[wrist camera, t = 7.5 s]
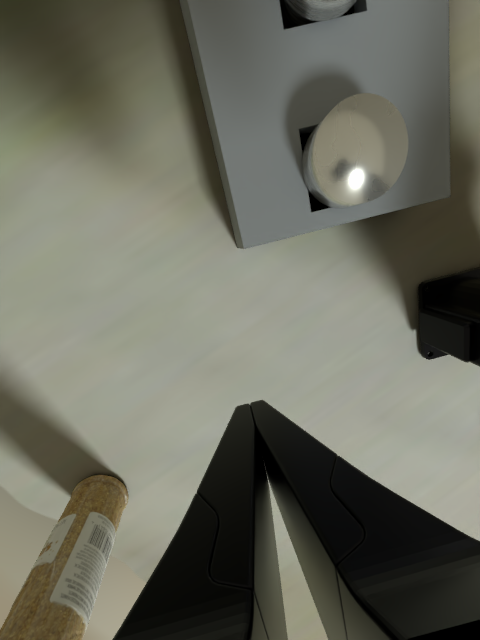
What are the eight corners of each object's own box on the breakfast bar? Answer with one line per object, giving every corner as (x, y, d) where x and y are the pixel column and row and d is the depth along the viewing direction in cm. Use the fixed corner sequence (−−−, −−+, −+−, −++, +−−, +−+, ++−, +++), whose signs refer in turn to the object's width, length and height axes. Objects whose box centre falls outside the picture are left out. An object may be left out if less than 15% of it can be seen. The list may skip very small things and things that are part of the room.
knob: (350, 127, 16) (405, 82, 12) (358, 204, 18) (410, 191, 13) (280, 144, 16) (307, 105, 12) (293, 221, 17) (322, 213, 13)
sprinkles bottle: (68, 476, 22) (-127, 795, 9) (124, 468, 23) (11, 765, 10) (81, 518, 24) (-75, 849, 11) (135, 510, 24) (46, 821, 11)
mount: (374, -287, 13) (444, -515, 9) (402, 206, 19) (450, 196, 15) (123, -240, 12) (83, -456, 8) (237, 247, 19) (244, 249, 15)
